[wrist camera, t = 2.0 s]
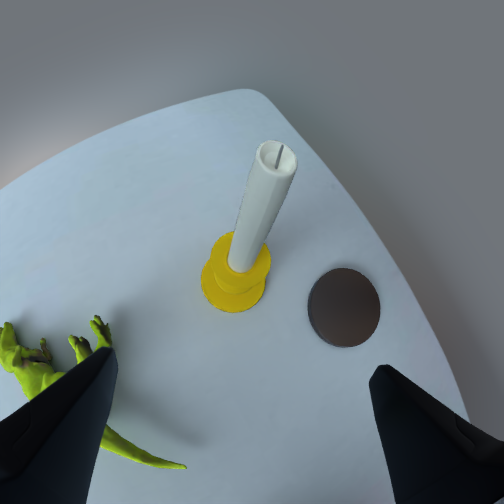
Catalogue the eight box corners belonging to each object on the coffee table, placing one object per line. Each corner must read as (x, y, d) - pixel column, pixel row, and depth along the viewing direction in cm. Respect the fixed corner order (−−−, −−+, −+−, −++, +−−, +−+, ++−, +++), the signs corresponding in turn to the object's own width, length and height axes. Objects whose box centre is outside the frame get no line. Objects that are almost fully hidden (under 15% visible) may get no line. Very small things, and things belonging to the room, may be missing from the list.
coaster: (386, 324, 23) (391, 323, 22) (328, 361, 21) (332, 361, 20) (355, 259, 25) (359, 256, 24) (293, 288, 23) (296, 286, 22)
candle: (277, 283, 23) (380, 164, 9) (232, 326, 21) (289, 255, 7) (234, 239, 24) (275, 83, 10) (187, 278, 22) (163, 135, 8)
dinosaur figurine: (209, 349, 20) (210, 346, 14) (186, 464, 16) (180, 498, 10) (16, 280, 19) (-22, 258, 13) (-4, 377, 15) (-45, 374, 9)
